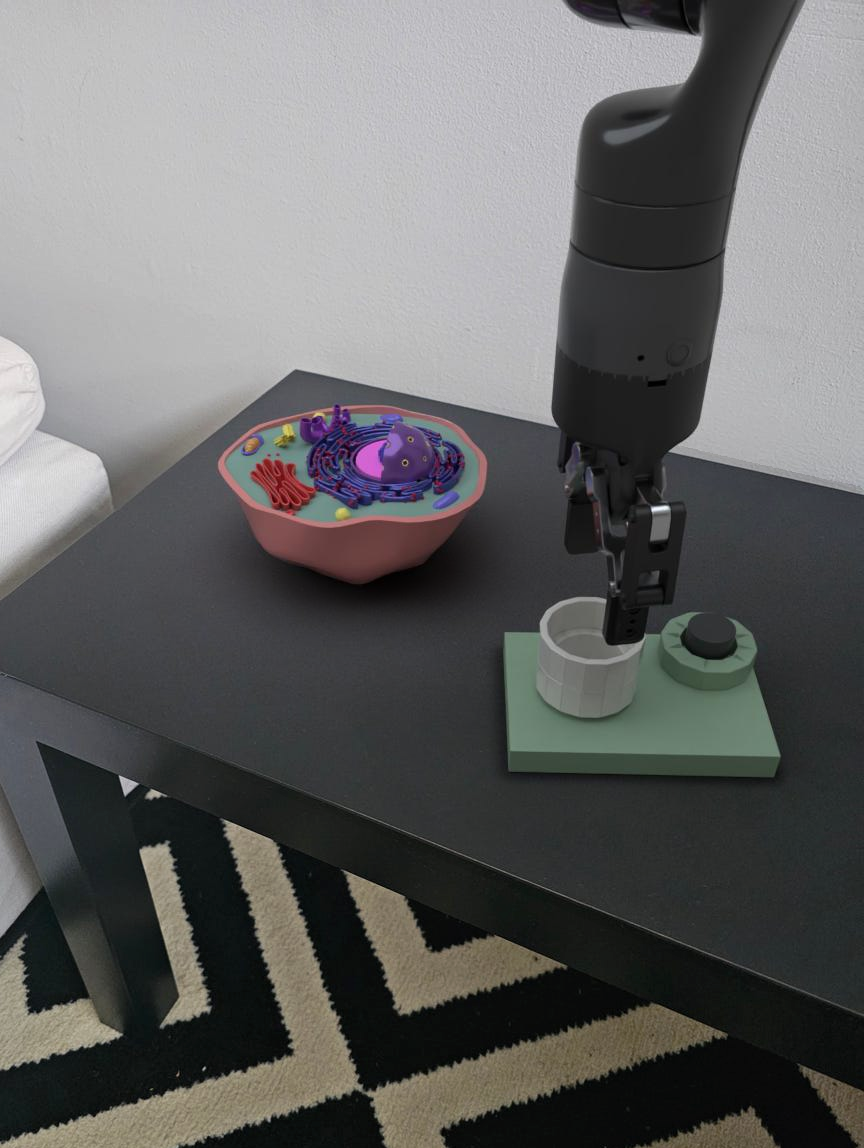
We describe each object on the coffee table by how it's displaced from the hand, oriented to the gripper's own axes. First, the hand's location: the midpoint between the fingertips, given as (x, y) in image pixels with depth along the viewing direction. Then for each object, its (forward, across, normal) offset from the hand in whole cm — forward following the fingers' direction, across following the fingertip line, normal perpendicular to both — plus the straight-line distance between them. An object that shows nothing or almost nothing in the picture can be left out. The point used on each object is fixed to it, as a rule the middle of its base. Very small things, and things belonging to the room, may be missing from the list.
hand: (601, 593), depth 61 cm
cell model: (+10, -20, -13) cm, 26 cm away
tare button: (+7, -2, +8) cm, 11 cm away
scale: (+10, 0, +3) cm, 10 cm away
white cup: (+8, 0, 0) cm, 8 cm away
